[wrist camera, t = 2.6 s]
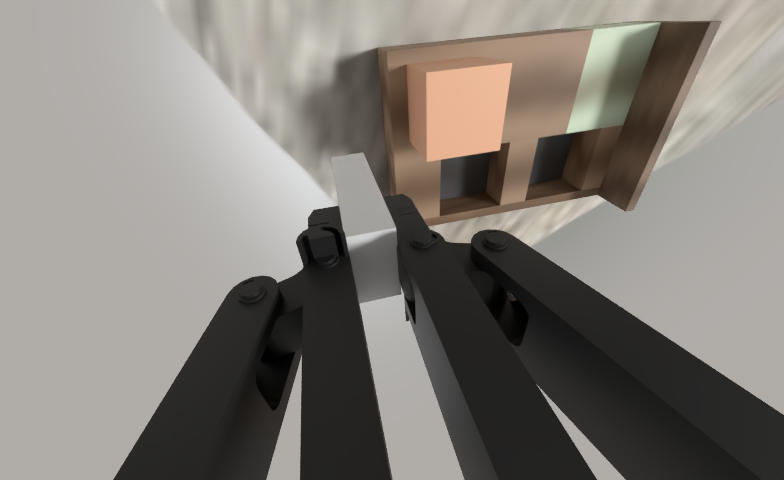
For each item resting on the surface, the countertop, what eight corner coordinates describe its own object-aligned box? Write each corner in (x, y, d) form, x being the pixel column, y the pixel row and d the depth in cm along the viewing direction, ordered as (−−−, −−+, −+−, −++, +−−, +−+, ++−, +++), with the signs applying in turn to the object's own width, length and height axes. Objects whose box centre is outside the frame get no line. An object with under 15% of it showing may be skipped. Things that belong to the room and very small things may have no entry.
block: (406, 64, 23) (426, 72, 19) (479, 56, 24) (512, 62, 20) (409, 141, 27) (426, 161, 23) (472, 132, 28) (499, 150, 24)
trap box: (377, 47, 26) (399, 55, 19) (631, 21, 29) (721, 20, 23) (391, 213, 36) (409, 254, 29) (580, 179, 39) (633, 209, 32)
